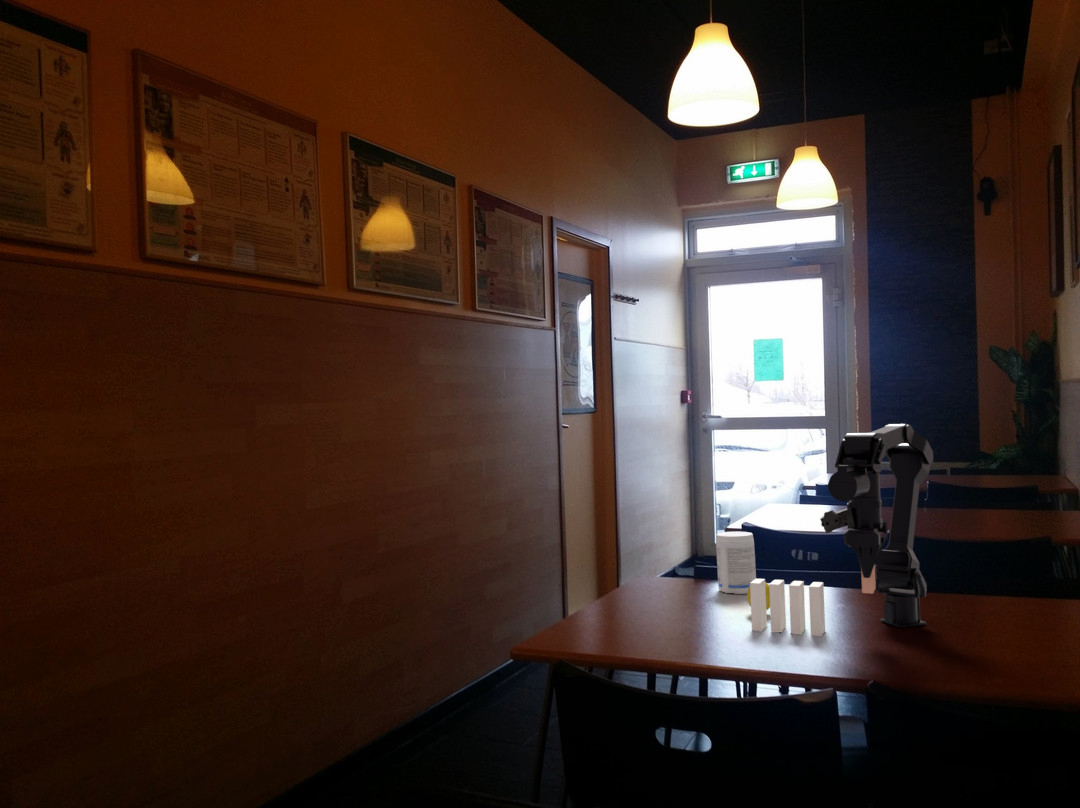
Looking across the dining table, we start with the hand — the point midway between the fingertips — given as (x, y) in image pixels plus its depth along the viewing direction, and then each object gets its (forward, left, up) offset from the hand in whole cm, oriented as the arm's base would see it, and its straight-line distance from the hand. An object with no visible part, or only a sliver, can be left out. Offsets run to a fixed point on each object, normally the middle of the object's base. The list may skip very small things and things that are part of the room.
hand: (868, 575), depth 170 cm
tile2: (+6, -9, -13) cm, 17 cm away
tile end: (+14, -17, -13) cm, 26 cm away
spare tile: (0, 0, -3) cm, 3 cm away
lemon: (+7, -28, -13) cm, 32 cm away
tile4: (+11, -15, -13) cm, 23 cm away
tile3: (+9, -12, -13) cm, 20 cm away
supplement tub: (-1, -52, -13) cm, 54 cm away
